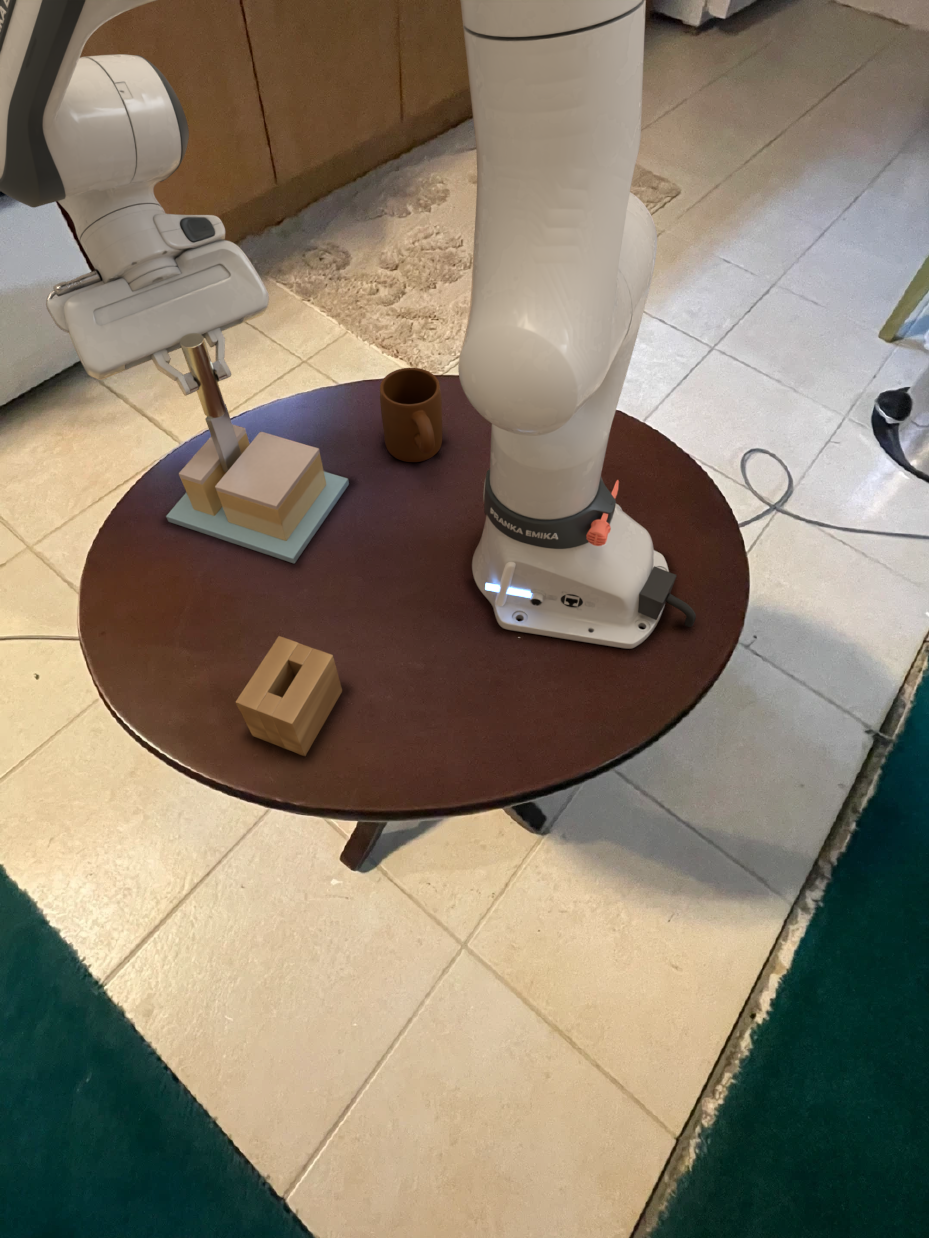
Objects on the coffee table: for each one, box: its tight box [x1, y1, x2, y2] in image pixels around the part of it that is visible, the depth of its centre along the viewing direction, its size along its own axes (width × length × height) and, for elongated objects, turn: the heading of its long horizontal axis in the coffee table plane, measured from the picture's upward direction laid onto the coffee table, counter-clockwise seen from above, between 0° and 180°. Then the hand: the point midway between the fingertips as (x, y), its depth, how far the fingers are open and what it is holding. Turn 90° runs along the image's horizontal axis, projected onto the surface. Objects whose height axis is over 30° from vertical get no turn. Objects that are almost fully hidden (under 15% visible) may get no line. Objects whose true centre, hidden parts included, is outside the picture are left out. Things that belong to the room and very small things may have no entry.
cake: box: [165, 431, 350, 564], centre depth 92 cm, size 18×14×7 cm
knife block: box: [235, 635, 343, 757], centre depth 75 cm, size 6×8×7 cm
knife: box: [180, 333, 241, 473], centre depth 84 cm, size 2×3×17 cm
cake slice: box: [178, 423, 251, 516], centre depth 92 cm, size 3×10×6 cm, turn 158°
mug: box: [379, 367, 443, 463], centre depth 96 cm, size 12×8×9 cm, turn 18°
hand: (208, 385), depth 81 cm, fingers closed on knife, 2 cm apart
